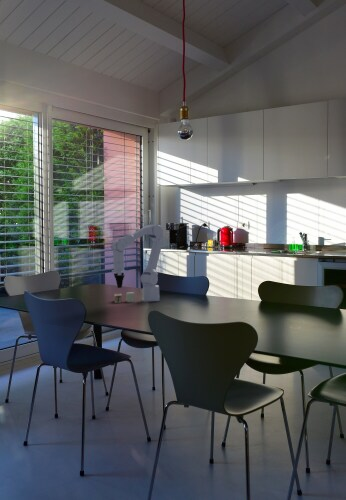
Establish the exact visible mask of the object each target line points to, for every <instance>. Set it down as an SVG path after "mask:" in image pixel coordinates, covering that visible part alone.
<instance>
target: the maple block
mask: <svg viewBox="0 0 346 500" xmlns="http://www.w3.org/2000/svg"><path fill="white" fill-rule="evenodd" d="M113 295H114V303H115V304H117V303H123V294H122V293H114V294H113Z"/></svg>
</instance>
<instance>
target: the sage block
mask: <svg viewBox="0 0 346 500" xmlns="http://www.w3.org/2000/svg"><path fill="white" fill-rule="evenodd" d="M135 296H136V292H133V291H130V292H126V293H125V301H126V302H127V303H133V302H134V303H135V302H136V297H135Z"/></svg>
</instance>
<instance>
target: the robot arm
mask: <svg viewBox="0 0 346 500" xmlns="http://www.w3.org/2000/svg"><path fill="white" fill-rule="evenodd" d="M163 234H164V229H163V226H161V225H160V224H147V225H144V226H143V227H142V228H140V229H138V230H137V231H135V232H134V233H126V234H125V235H124V236H123V237H119V238H118V240H114V241H113V242H112V243H111V245H110V248H111V250H112V254H113V256H112V257H113V259H112V260H113V269H112V270H111V272H112V273H113V276H114V279H115V282H116V285H117V286H116V287H117V289H121V288H123V281H124V278H125V273H124V272H126V271H125V255H124V253H125V252H124V251H125V250H126V248H128V247H129V246H131V245H133V244H134V243H135V242H136V241H135V240H138V239H139V238H141V237H143V236H145V235H146V236H148V237H149V238H150V239H151V241H152V245H151V249H150V253H149V257H148V261H147V265H146V267H145V269H144V270H143V272H142V274H141V276H140V277H139V281H140V282H141V284H142V299H141V301H142V302H159V301H161V300H160V286H159V285H158V284H157V283H158V282H159V281H158V280H159V277H158V275H159V273H158V270H157V267H158V263H159V260H160V256H161V255H160V254H161V252H162V251H161V250H162V246H163V242H164V235H163Z"/></svg>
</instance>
